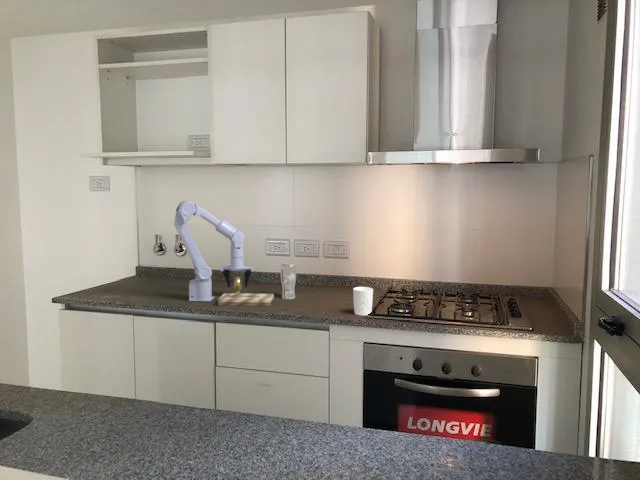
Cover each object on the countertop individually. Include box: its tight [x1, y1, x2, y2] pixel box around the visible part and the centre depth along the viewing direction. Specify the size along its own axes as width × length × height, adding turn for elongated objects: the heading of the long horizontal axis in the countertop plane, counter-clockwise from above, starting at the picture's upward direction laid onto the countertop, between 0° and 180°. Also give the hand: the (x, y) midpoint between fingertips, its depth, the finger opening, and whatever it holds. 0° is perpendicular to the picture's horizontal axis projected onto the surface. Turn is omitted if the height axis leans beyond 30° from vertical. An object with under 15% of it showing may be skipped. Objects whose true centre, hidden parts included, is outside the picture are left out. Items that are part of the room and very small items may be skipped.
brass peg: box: [232, 276, 243, 293], centre depth 235 cm, size 4×4×9 cm
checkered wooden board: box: [217, 292, 275, 307], centre depth 224 cm, size 22×12×3 cm, turn 88°
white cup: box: [352, 286, 374, 317], centre depth 206 cm, size 8×8×10 cm
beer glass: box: [280, 263, 297, 300], centre depth 234 cm, size 7×7×15 cm
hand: (237, 286), depth 235 cm, fingers open, 7 cm apart
